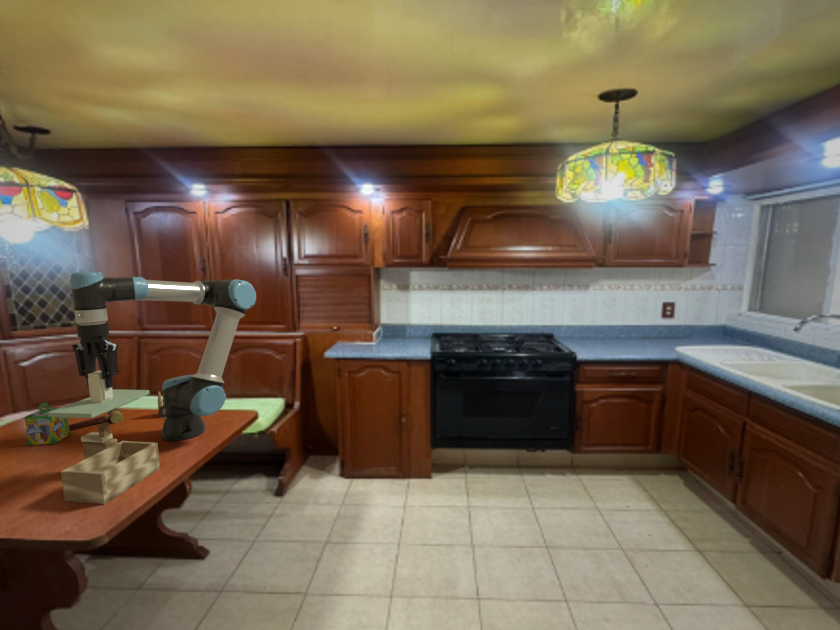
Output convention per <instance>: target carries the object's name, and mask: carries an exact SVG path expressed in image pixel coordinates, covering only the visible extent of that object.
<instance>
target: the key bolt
mask: <svg viewBox="0 0 840 630" xmlns="http://www.w3.org/2000/svg"><path fill="white" fill-rule="evenodd" d="M97 428H98V429H97V430H98V432H89V433H87V434H84V435H82V436H80V440H81V442H82V443H83V442H97V443H104V442H106V441H108V440H110V439H114V437H113V433H111V431H110V430H111V429H110V423H109V422H102V423H98V424H97Z"/></svg>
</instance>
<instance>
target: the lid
mask: <svg viewBox="0 0 840 630" xmlns="http://www.w3.org/2000/svg"><path fill="white" fill-rule="evenodd" d="M101 377H103V375H102V372H101V370H95V372H93V373H89V374H88V379H89V386H90V391H89V395H90V394H91V399H90V396H89V397H86V398H84V399H81V400H78V401H76V402H72V403H70V404H68V405H65V406H62V407H58V408H59V409H56V410H53V411H50V412H48V413H47V414H48V417H63V418H68V419H69V418H72V419H94V418H98V417H100V416H101V415H103V414H105V413H108V412H109V411H111V410H113V409H116V408H118V409H119V408H120V407H122V406H125V405H128V404H130V403H132V402H134V401H137V400H139V399H140V398H142V397H144V396H145V397H146V396H147V395H149V394H150V393H151V392H150V390H149V389H113V388H112V392H113V397H111V398H108V399H103V393H102V385H101Z"/></svg>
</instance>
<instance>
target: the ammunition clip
mask: <svg viewBox="0 0 840 630" xmlns="http://www.w3.org/2000/svg"><path fill="white" fill-rule="evenodd" d="M161 394H162V393H161V392H160V391H158V393H157V409H158V418H159V419H162V418H161V417H163V418H165V407H164V398H163V397H162V395H161Z"/></svg>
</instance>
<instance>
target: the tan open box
mask: <svg viewBox="0 0 840 630" xmlns="http://www.w3.org/2000/svg"><path fill="white" fill-rule="evenodd" d="M82 449H83V457H84V459H83V460H81V461H79V462H78V463H77V462H76V463H75V464H72V465H70V466H69V467H67V468H66V469H63V470H61V471H60V473H61V483H62V490H63V496H64V502H70V501H76V502H75V503H82V502H85V503H84V504H95V503H99V504H98V505H106V504H107V502H108V501H109V502H110V500H111V501H112V500H114V499H115V498H116V497H119V496H120V495H122V494H123V493H124V492H126V491H128V490H129V489H130V488H133V487H134V486H135V485H137V484H138V483H140V482H141V481H143V480H145V479H147V477H150V476H151V475H152V474H155V471H156V472H157V471H159V470H160V469H161V466H160V464H161V463H160V457H159V455H160V454H159V445H158V442H151V441H149V442H148V441H133V440H132V441H130V440H129V441H128V440H121V441H120V442H118V438H112V439H110V440H108V441H106V442H104V443H97V442H82ZM144 478H145V479H144ZM113 498H114V499H113ZM109 502H108V503H109Z"/></svg>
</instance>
